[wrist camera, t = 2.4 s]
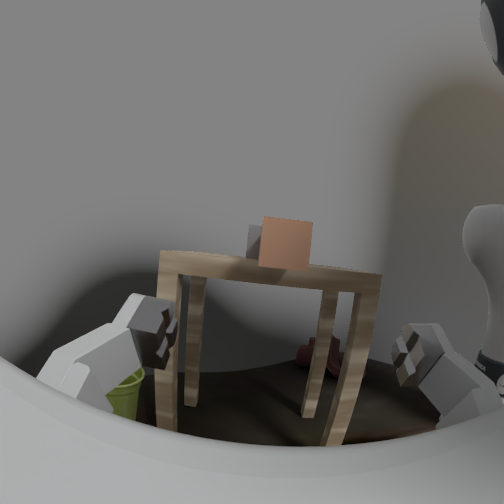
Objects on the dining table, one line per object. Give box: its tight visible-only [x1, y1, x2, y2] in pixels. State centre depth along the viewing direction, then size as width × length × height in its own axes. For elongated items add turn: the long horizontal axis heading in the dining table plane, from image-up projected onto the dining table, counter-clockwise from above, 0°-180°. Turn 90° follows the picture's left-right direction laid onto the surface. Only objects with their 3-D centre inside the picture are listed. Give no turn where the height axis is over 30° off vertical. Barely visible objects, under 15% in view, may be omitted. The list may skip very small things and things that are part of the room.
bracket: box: [297, 335, 367, 378], centre depth 59 cm, size 6×17×10 cm, turn 54°
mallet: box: [246, 216, 313, 272], centre depth 27 cm, size 22×6×4 cm, turn 179°
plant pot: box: [105, 367, 145, 421], centre depth 31 cm, size 9×9×9 cm
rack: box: [155, 250, 382, 446], centre depth 33 cm, size 16×22×26 cm
